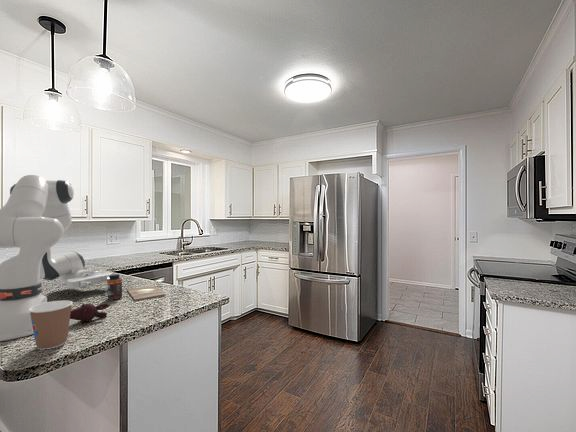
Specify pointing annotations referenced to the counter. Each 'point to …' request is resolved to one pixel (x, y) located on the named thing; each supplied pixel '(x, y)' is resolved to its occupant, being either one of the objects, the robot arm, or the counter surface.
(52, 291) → the counter surface
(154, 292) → the board
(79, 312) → the dark red toy figure
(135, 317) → the counter surface
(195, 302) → the counter surface
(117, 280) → the supplement bottle
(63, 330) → the coffee cup
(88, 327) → the counter surface
